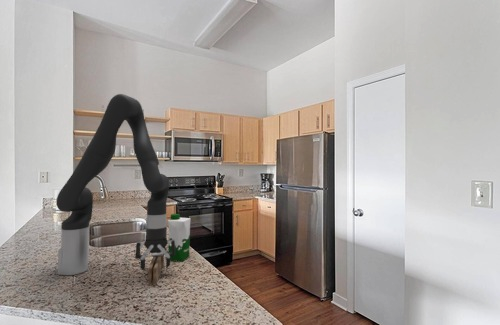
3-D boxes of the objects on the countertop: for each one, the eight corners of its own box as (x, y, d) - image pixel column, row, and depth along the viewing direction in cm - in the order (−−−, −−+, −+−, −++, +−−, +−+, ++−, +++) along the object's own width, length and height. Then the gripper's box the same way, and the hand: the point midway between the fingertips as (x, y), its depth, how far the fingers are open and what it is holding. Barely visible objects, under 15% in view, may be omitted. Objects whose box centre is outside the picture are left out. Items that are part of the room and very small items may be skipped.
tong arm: (154, 268, 105) (155, 254, 105) (161, 267, 105) (161, 253, 106) (147, 285, 89) (148, 269, 90) (156, 284, 90) (156, 268, 90)
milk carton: (174, 254, 123) (175, 212, 123) (192, 256, 121) (192, 213, 121) (164, 261, 114) (165, 215, 115) (183, 262, 112) (184, 216, 113)
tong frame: (153, 265, 108) (154, 249, 109) (163, 265, 109) (164, 248, 109) (146, 286, 89) (146, 266, 89) (158, 285, 90) (159, 265, 90)
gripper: (134, 228, 93) (133, 273, 93) (175, 227, 97) (174, 270, 96) (138, 224, 101) (137, 266, 100) (176, 223, 104) (175, 263, 104)
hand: (155, 268), depth 98 cm, fingers open, 8 cm apart
